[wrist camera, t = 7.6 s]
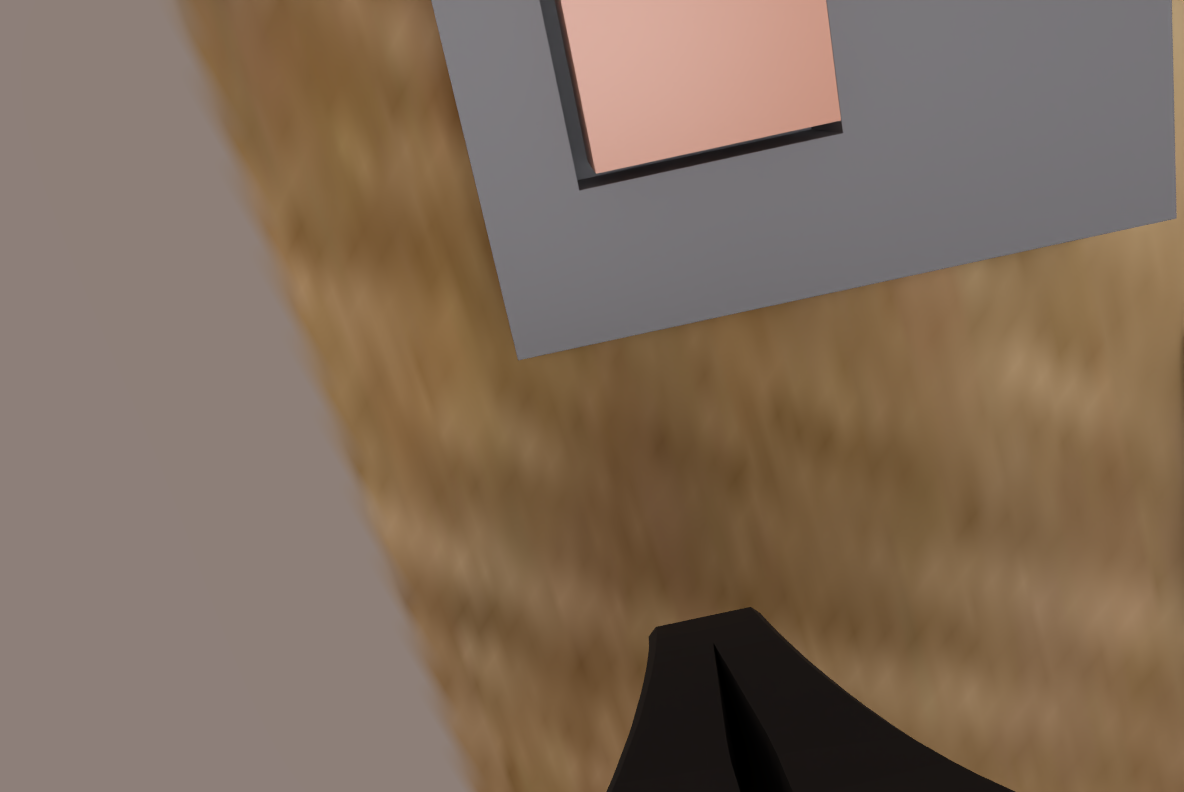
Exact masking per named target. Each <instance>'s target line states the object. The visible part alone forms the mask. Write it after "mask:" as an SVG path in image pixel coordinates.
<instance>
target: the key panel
mask: <svg viewBox="0 0 1184 792" xmlns="http://www.w3.org/2000/svg"><path fill="white" fill-rule="evenodd" d="M431 1H432V5H433V9H434V13H435V18H436V22H437V26H438V30H439V34H440V38H441V42H442V47H443V51H444V55H445V59H446V63H447V67H448V72H449V76H450V80H451V84H452V88H453V92H454V96H455V101H456V105H457V109H458V113H459V117H460V121H461V125H462V130H463V134H464V138H465V142H466V146H467V150H468V154H469V159H470V163H471V167H472V171H473V175H474V179H475V183H476V188H477V192H478V196H479V200H480V204H481V208H482V212H483V217H484V221H485V225H486V229H487V233H488V237H489V241H490V246H491V250H492V254H493V258H494V262H495V266H496V270H497V275H498V279H499V283H500V287H501V291H502V295H503V299H504V304H505V308H506V312H507V316H508V320H509V324H510V328H511V333H512V337H513V341H514V345H515V349H516V353H517V357H518V360H522V359H526V358H531V357H536V356H540V355H545V354H550V353H554V352H559V351H563V350H568V349H573V348H577V347H582V346H587V345H591V344H596V343H601V342H605V341H610V340H615V339H619V338H624V337H628V336H633V335H638V334H642V333H647V332H652V331H656V330H661V329H666V328H670V327H675V326H679V325H684V324H689V323H693V322H698V321H703V320H707V319H712V318H717V317H721V316H726V315H731V314H735V313H740V312H744V311H749V310H754V309H758V308H763V307H768V306H772V305H777V304H782V303H786V302H791V301H795V300H800V299H805V298H809V297H814V296H819V295H823V294H828V293H833V292H837V291H842V290H846V289H851V288H856V287H860V286H865V285H870V284H874V283H879V282H884V281H888V280H893V279H898V278H902V277H907V276H911V275H916V274H921V273H925V272H930V271H935V270H939V269H944V268H949V267H953V266H958V265H962V264H967V263H972V262H976V261H981V260H986V259H990V258H995V257H1000V256H1004V255H1009V254H1014V253H1018V252H1023V251H1027V250H1032V249H1037V248H1041V247H1046V246H1051V245H1055V244H1060V243H1065V242H1069V241H1074V240H1078V239H1083V238H1088V237H1092V236H1097V235H1102V234H1106V233H1111V232H1116V231H1120V230H1125V229H1130V228H1134V227H1139V226H1143V225H1148V224H1153V223H1157V222H1162V221H1167V220H1171V219H1176V174H1175V129H1174V85H1173V40H1172V0H826V3H827V11H828V19H829V27H830V35H831V43H832V51H833V59H834V67H835V76H836V84H837V92H838V100H839V108H840V116H841V121H836V122H832V123H827V124H822V125H818V126H813V127H809V128H804V129H799V130H795V131H790V132H786V133H781V134H777V135H772V136H767V137H763V138H758V139H754V140H749V141H744V142H740V143H735V144H731V145H726V146H722V147H717V148H712V149H708V150H703V151H699V152H694V153H689V154H685V155H680V156H676V157H671V158H667V159H662V160H657V161H653V162H648V163H644V164H639V165H634V166H630V167H625V168H621V169H616V170H612V171H607V172H602V173H598V174H596V173H595V172H594V170H593V169H592V167H591V166H590V164H589V163H588V161H587V157H586V152H585V147H584V142H583V137H582V132H581V127H580V122H579V117H578V113H577V108H576V103H575V98H574V93H573V88H572V83H571V78H570V74H569V69H568V64H567V59H566V54H565V49H564V44H563V39H562V35H561V30H560V25H559V20H558V15H557V10H556V5H555V0H431Z"/></svg>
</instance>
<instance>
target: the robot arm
mask: <svg viewBox="0 0 1184 792" xmlns="http://www.w3.org/2000/svg"><path fill="white" fill-rule="evenodd" d="M607 792H1015V791H1013V790H1010V789H1008V788H1006V787H1004V786H1002V785H1000V784H997V783H995V782H993V781H991V780H989V779H986V778H984V777H982V776H980V775H978V774H976V773H974V772H972V771H970V770H968V769H966V768H964V767H962V766H960V765H958V764H956V763H954V762H953V761H951V760H949V759H947V758H946V757H944V756H942V755H940V754H939V753H937V752H935V751H933V750H932V749H930V748H928V747H926V746H925V745H923V744H921V743H919V742H918V741H916V740H914V739H913V738H911V737H910V736H908V735H907V734H905V733H904V732H902V731H901V730H899V729H898V728H896V727H894V726H893V725H891V724H890V723H889V722H887V721H886V720H884V719H883V718H882V717H880V716H879V715H877V714H876V713H874V712H873V711H872V710H870V709H869V708H867V707H866V706H865V705H863V704H862V703H861V702H859V701H858V700H857V699H855V698H854V697H853V696H851V695H850V694H849V693H847V692H846V691H845V690H844V689H842V688H841V687H840V686H839V685H838V684H836V683H835V682H834V681H833V680H831V679H830V678H829V677H828V676H826V675H825V674H824V673H823V672H822V671H820V670H819V669H818V668H817V667H816V666H814V665H813V664H812V663H811V662H810V661H809V660H808V659H806V658H805V657H804V656H803V655H802V654H801V653H800V652H799V651H798V650H796V649H795V648H794V647H793V646H792V645H791V644H790V643H789V642H788V641H787V640H786V639H785V638H784V637H783V636H782V635H781V634H780V633H779V632H778V631H777V630H776V629H775V628H774V627H773V626H772V625H771V624H770V623H769V622H768V621H767V620H766V619H765V618H764V617H763V616H762V615H761V614H760V613H759V612H757V611H756V610H754V609H753V608H751V607H748V608H744V609H739V610H734V611H729V612H725V613H720V614H715V615H710V616H706V617H701V618H696V619H692V620H687V621H682V622H677V623H673V624H668V625H663V626H658V627H656V628H655V629H654V630H653V632H652V633H651V634H650V636H649V653H648V662H647V668H646V673H645V678H644V683H643V687H642V692H641V695H640V699H639V702H638V706H637V709H636V713H635V716H634V720H633V723H632V727H631V730H630V733H629V736H628V739H627V741H626V744H625V747H624V749H623V752H622V754H621V757H620V760H619V762H618V765H617V768H616V770H615V773H614V776H613V778H612V780H611V783H610V785H609V787H608V790H607Z"/></svg>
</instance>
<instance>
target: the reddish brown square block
mask: <svg viewBox="0 0 1184 792" xmlns="http://www.w3.org/2000/svg"><path fill="white" fill-rule="evenodd" d="M555 5H556V10H557V15H558V20H559V25H560V30H561V35H562V39H563V44H564V49H565V54H566V59H567V64H568V69H569V74H570V78H571V83H572V88H573V93H574V98H575V103H576V108H577V113H578V117H579V122H580V127H581V132H582V137H583V142H584V147H585V152H586V157H587V161H588V163H589V164H590V166H591V167H592V169H593V170H594V172H595V173H596V174H598V173H602V172H607V171H612V170H616V169H621V168H625V167H630V166H634V165H639V164H644V163H648V162H653V161H657V160H662V159H667V158H671V157H676V156H680V155H685V154H689V153H694V152H699V151H703V150H708V149H712V148H717V147H722V146H726V145H731V144H735V143H740V142H744V141H749V140H754V139H758V138H763V137H767V136H772V135H777V134H781V133H786V132H790V131H795V130H799V129H804V128H809V127H813V126H818V125H822V124H827V123H832V122H836V121H841V116H840V108H839V100H838V92H837V84H836V76H835V67H834V59H833V51H832V43H831V35H830V27H829V19H828V11H827V3H826V0H555Z"/></svg>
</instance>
